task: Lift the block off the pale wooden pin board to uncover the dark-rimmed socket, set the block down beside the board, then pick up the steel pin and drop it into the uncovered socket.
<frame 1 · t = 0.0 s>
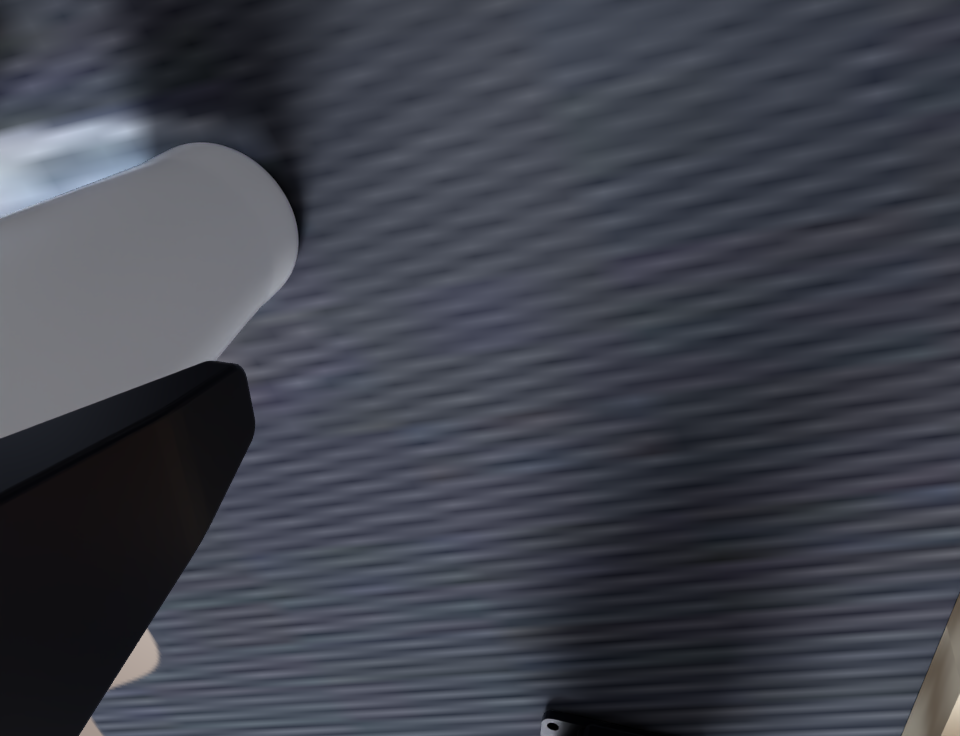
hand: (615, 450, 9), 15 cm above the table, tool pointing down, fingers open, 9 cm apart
drinking glass: (233, 216, 27), on the table
when the fingers open (3 cm above the table, at t = 7.2 s): block drops 2 cm, on the table.
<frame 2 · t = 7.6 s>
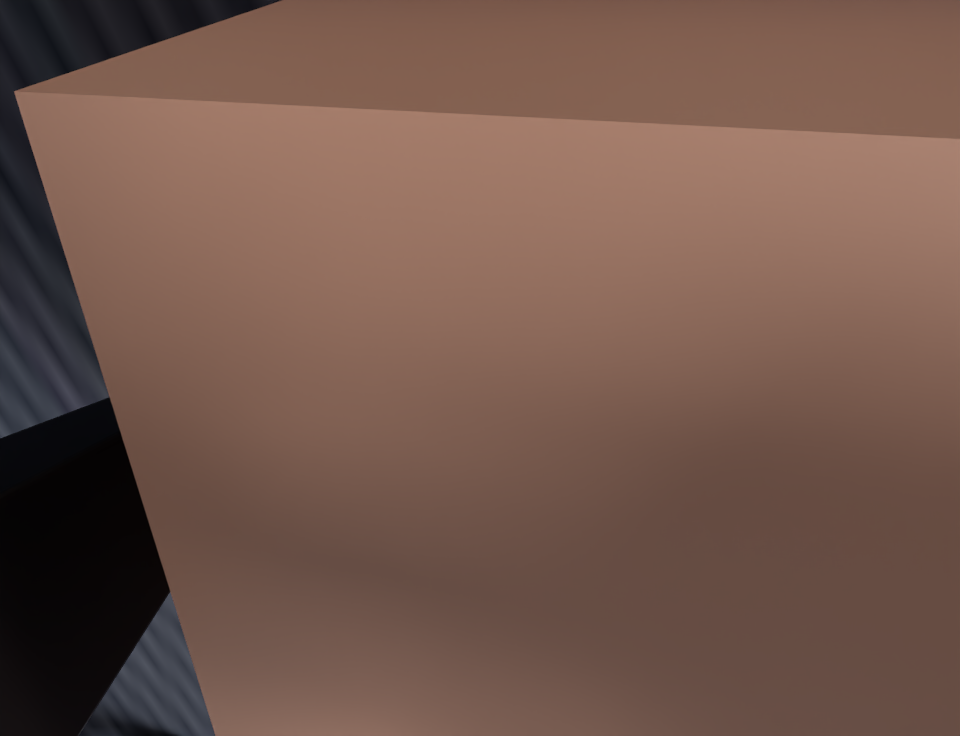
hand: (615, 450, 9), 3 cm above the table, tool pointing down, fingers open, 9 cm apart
block: (648, 300, 12), on the table
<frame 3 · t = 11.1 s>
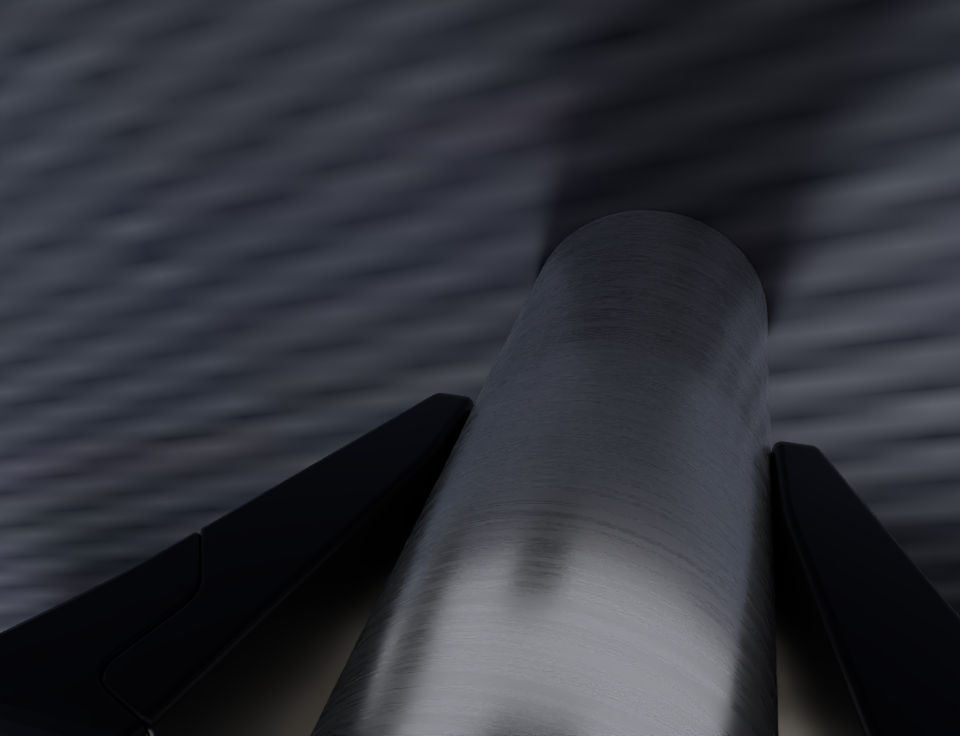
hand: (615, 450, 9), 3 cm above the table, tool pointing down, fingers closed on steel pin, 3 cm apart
steel pin: (645, 319, 12), on the table, touching gripper
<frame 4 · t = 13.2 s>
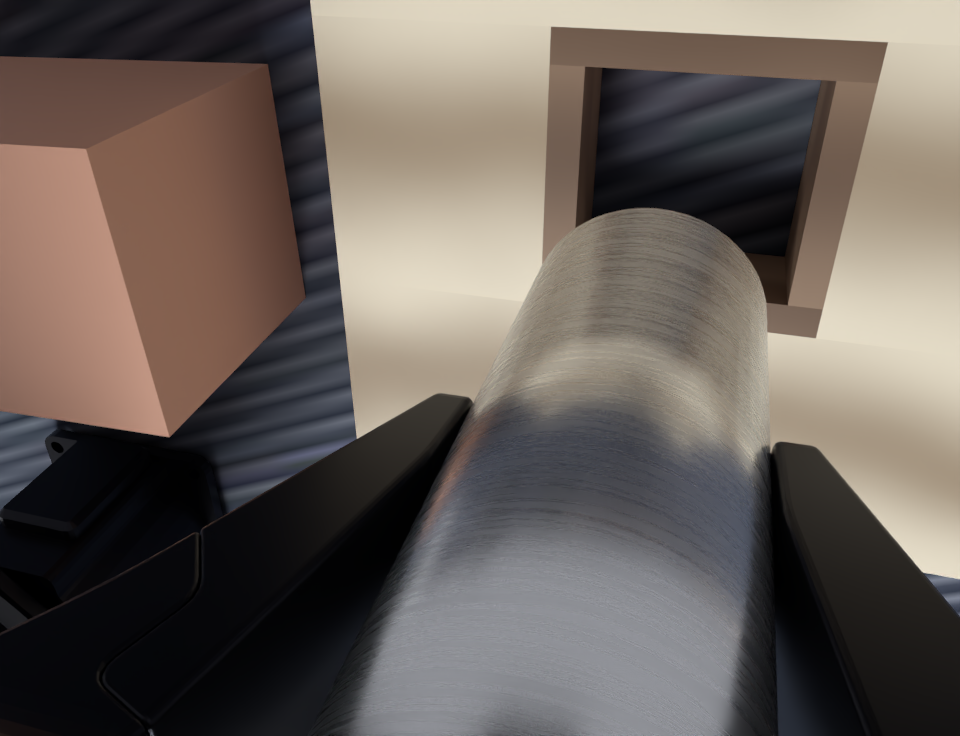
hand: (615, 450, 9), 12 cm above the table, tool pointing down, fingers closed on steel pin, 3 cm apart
steel pin: (644, 317, 12), point 9 cm above the table, touching gripper
pin board: (697, 152, 19), on the table
block: (146, 178, 24), on the table
when the fingers open (4 cm above the table, at t = 15.4 s): steel pin stays where it is, resting in pin board.
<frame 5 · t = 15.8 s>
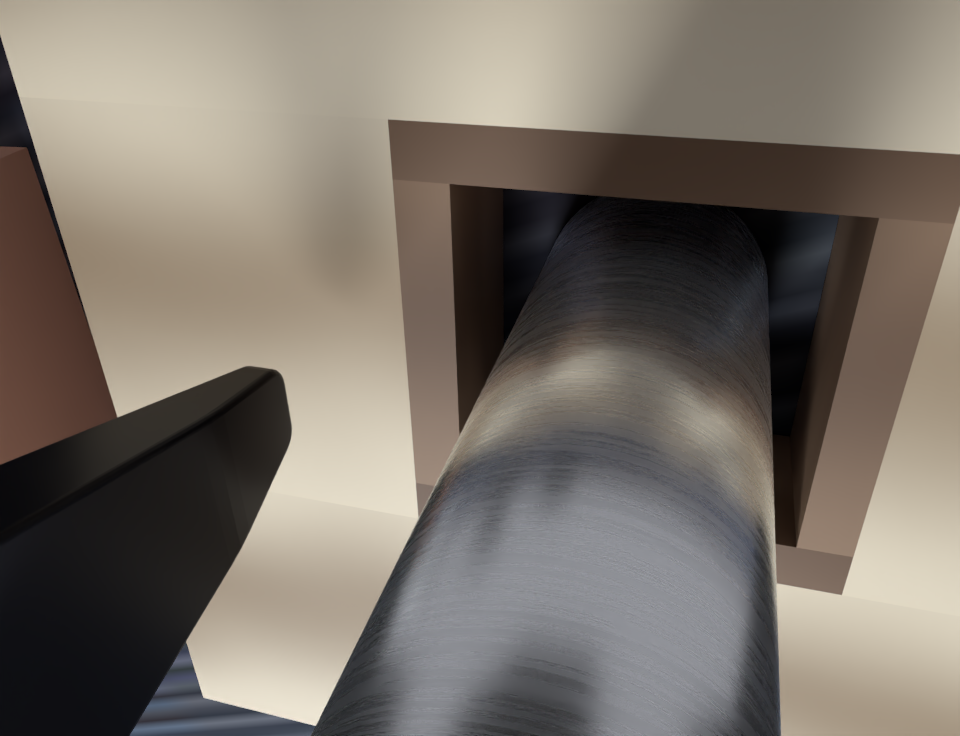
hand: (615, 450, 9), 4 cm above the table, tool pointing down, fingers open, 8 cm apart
steel pin: (653, 287, 12), resting in pin board
pin board: (654, 288, 12), on the table
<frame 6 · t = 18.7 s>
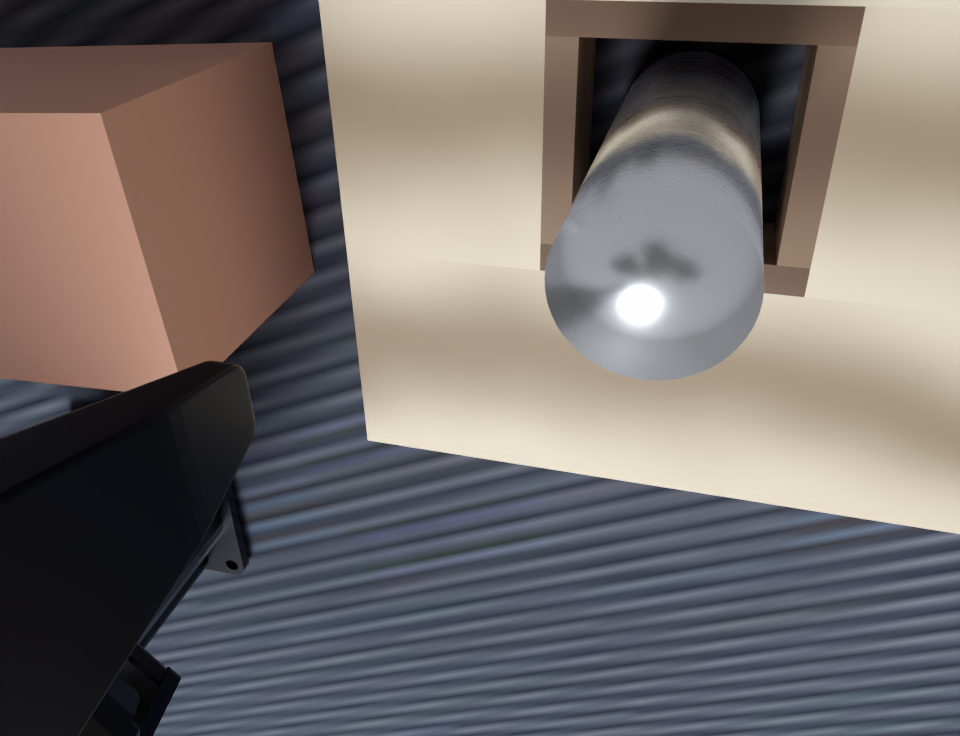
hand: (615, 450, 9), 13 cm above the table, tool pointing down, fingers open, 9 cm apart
steel pin: (688, 122, 20), resting in pin board
pin board: (689, 123, 20), on the table
block: (157, 161, 24), on the table
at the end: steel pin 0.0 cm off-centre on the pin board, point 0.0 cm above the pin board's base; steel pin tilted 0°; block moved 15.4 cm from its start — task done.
